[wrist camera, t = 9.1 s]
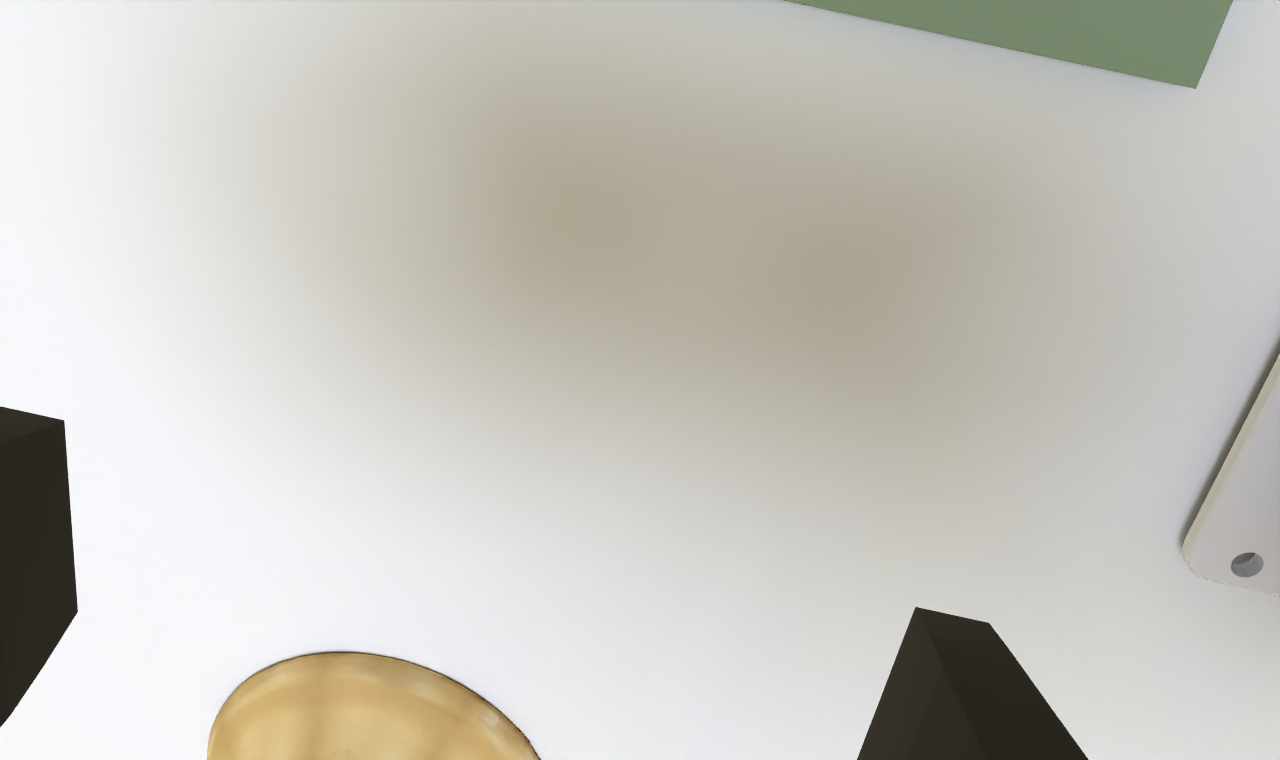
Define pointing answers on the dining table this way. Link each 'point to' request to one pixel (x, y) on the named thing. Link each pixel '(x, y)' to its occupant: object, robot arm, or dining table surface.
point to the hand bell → (360, 715)
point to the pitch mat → (1070, 29)
